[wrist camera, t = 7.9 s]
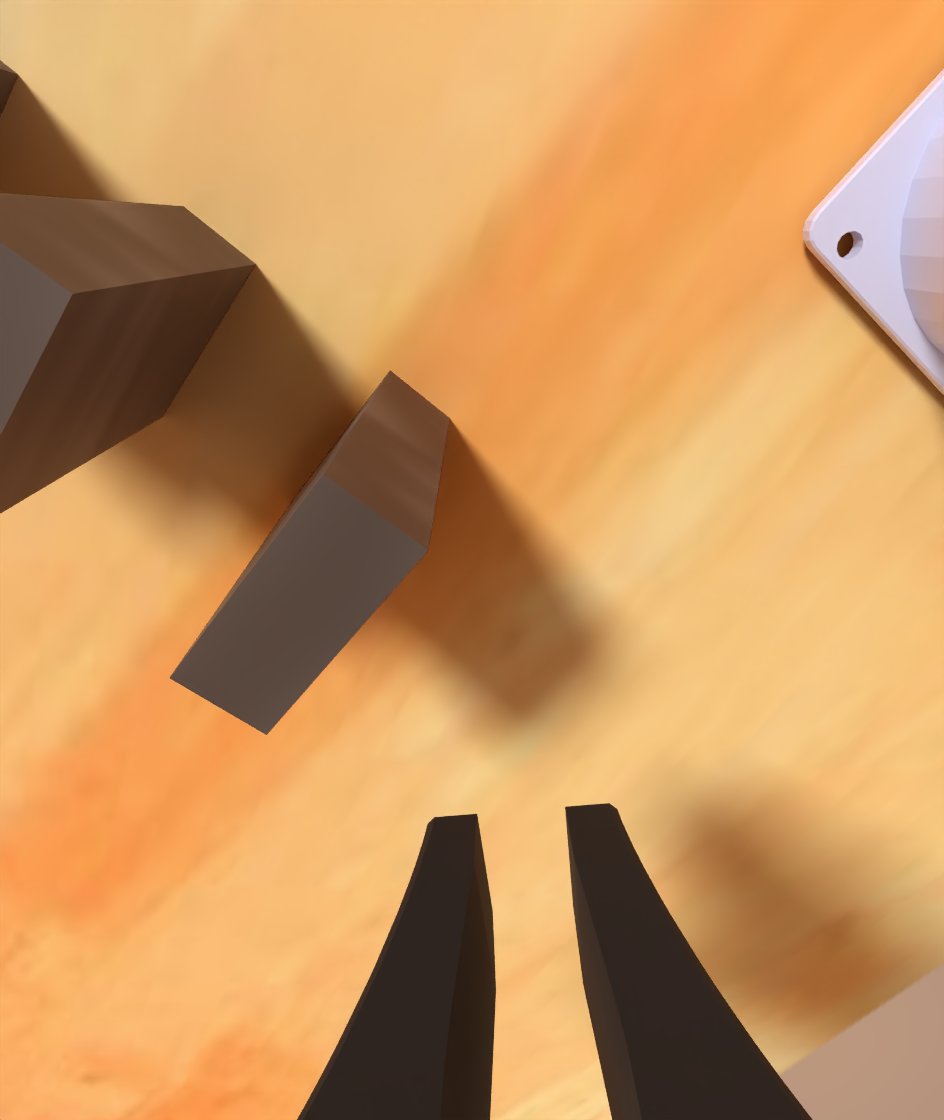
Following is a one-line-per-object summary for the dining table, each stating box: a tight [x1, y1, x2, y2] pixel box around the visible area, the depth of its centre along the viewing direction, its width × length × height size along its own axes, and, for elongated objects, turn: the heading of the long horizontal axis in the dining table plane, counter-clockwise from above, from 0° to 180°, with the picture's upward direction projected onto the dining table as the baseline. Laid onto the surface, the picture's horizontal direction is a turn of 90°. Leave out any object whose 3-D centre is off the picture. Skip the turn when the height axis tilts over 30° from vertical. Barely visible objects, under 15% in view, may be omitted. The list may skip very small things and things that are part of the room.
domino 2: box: [170, 371, 450, 735], centre depth 14 cm, size 2×4×8 cm, turn 141°
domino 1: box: [0, 193, 256, 513], centre depth 12 cm, size 2×4×8 cm, turn 141°
